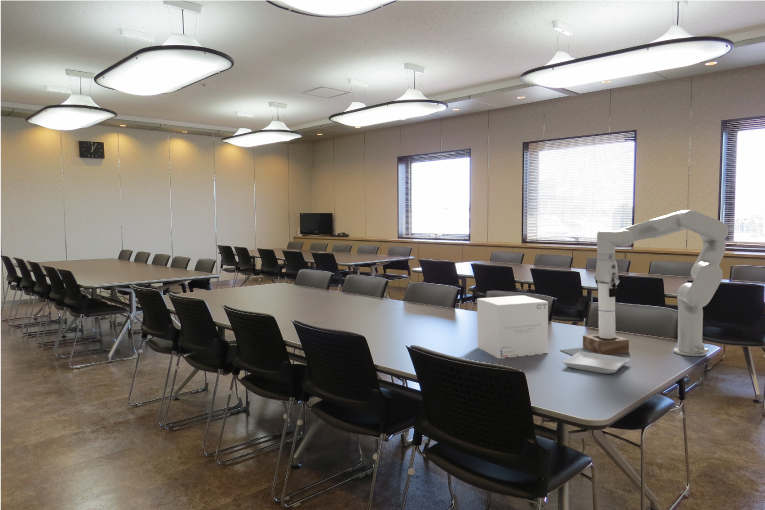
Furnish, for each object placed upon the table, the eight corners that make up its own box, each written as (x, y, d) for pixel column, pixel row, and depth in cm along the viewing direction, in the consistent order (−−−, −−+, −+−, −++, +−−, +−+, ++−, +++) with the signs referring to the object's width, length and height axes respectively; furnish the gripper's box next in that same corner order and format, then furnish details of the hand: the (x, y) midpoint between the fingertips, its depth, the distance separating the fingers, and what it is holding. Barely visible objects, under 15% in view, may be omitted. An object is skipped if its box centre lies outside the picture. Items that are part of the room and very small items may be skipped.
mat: (599, 354, 235) (599, 353, 235) (576, 357, 232) (576, 356, 232) (582, 348, 246) (582, 347, 246) (560, 350, 243) (560, 349, 243)
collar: (628, 352, 238) (628, 339, 237) (602, 355, 234) (602, 342, 234) (607, 345, 251) (608, 333, 251) (582, 348, 248) (582, 335, 247)
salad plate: (579, 358, 232) (579, 350, 232) (630, 365, 219) (630, 357, 218) (561, 369, 216) (561, 361, 215) (615, 378, 202) (616, 369, 202)
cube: (498, 359, 233) (498, 305, 231) (477, 348, 254) (477, 298, 252) (548, 354, 240) (547, 301, 238) (523, 343, 260) (523, 295, 259)
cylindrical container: (598, 338, 241) (597, 284, 239) (599, 334, 247) (598, 282, 245) (614, 339, 237) (614, 284, 236) (616, 335, 244) (615, 282, 242)
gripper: (626, 258, 232) (626, 297, 233) (600, 256, 249) (600, 292, 250) (612, 259, 230) (612, 299, 232) (586, 256, 247) (587, 294, 248)
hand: (606, 295), depth 241 cm, fingers closed on cylindrical container, 7 cm apart
